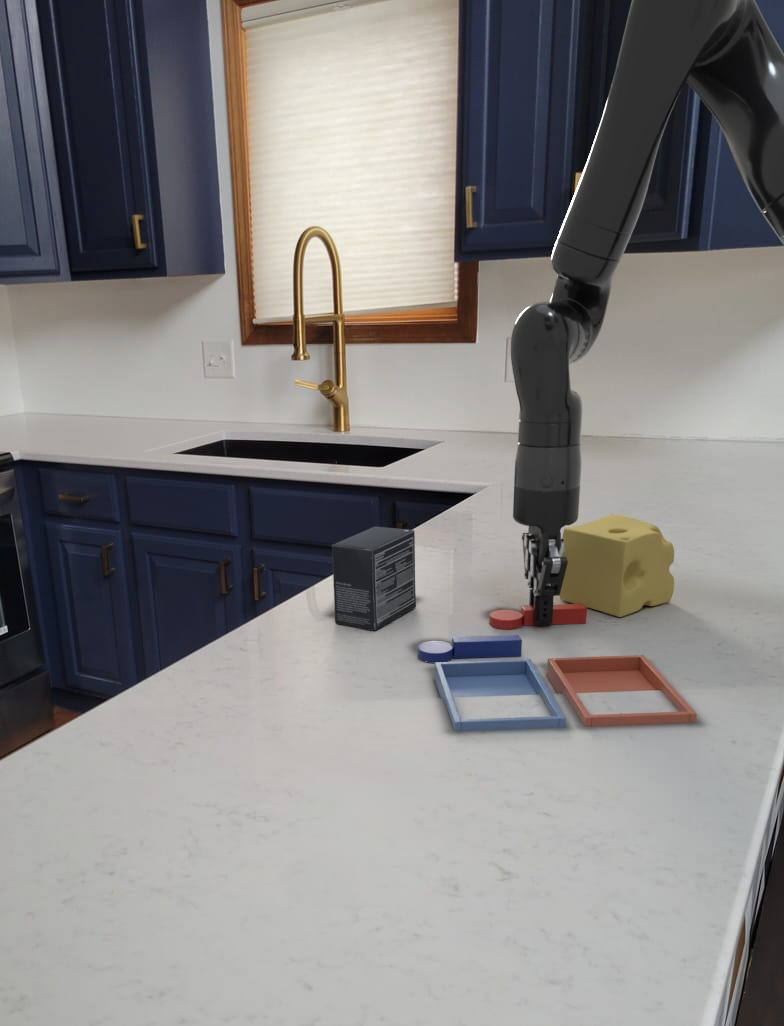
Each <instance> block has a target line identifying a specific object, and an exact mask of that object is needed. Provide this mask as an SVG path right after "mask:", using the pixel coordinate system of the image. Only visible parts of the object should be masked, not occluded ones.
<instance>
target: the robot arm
mask: <svg viewBox="0 0 784 1026" xmlns="http://www.w3.org/2000/svg"><path fill="white" fill-rule="evenodd" d="M686 83H687V84H688V86H689V87H690V88H691V89H692V90H693V92H694V93H695V95H697V96H698V97H699V99H700V100H701V101H702V102H703V104H704V105H705V106H706V107H707V109H708V111H710V113H711V114H712V115H713V117H714V119H715V120H716V122H717V124H718V125H719V127H720V129H721V131H722V133H723V135H724V138H725V140H726V142H727V145H728V147H729V149H730V152H731V154H732V157H733V160H734V163H735V165H736V168H737V169H738V171H739V173H740V176H741V178H742V180H743V183H744V185H745V186H746V189H747V191H748V192H749V194H750V196H751V197H752V199H753V202H754V203H755V205H756V206H757V208H758V210H759V211H760V213H762V216H763V217H764V219H765V220H766V221H767V223H768V224H769V226H770V228H771V229H772V230H773V232H774V233H775V235H776V236H777V237H778V239H779V240H780V242H781V243H782V245H784V52H783V50H782V49H781V47H780V46H779V43H778V42H777V40H776V37H774V35H773V33H772V31H771V29H770V27H769V25H768V24H767V22H766V20H765V18H764V16H763V14H762V12H761V10H760V8H759V6H758V4H757V2H756V0H631V3H630V7H629V11H628V15H627V19H626V24H625V28H624V32H623V36H622V40H621V46H620V50H619V53H618V58H617V63H616V67H615V71H614V74H613V79H612V82H611V86H610V89H609V93H608V97H607V100H606V103H605V106H604V109H603V113H602V117H601V120H600V123H599V126H598V128H597V132H596V135H595V138H594V140H593V144H592V146H591V150H590V153H589V155H588V158H587V161H586V163H585V165H584V168H583V171H582V174H581V177H580V179H579V182H578V185H577V187H576V188H575V189H576V190H575V192H574V195H573V197H572V200H571V202H570V205H569V207H568V210H567V213H566V215H565V218H564V219H563V223H562V225H561V228H560V230H559V234H558V236H557V239H556V241H555V243H554V247H553V249H552V254H551V258H550V265H551V268H552V269H553V271H554V273H556V274H557V275H556V279H555V283H554V287H553V291H552V294H551V297H550V300H549V301H540V302H536V303H533V304H531V305H528V307H526V308H525V309H524V310H523V311H522V312H521V313H520V314H519V316H518V317H517V319H516V320H515V322H514V325H513V329H512V331H511V332H512V333H511V337H510V362H511V368H512V375H513V379H514V386H515V391H516V395H517V399H518V403H519V412H518V431H517V432H518V433H517V434H518V435H517V450H516V454H515V460H514V477H513V478H514V479H513V505H512V507H513V509H512V518H513V520H514V521H515V522H516V523H517V524H519V525H522V526H524V527H525V526H526V527H528V530H527V531H528V532H522V535H521V541H522V551H523V564H524V565H523V567H524V575H523V576H524V578H525V580H527V583H526V584H527V588H528V589H529V600H528V601H529V602H528V606H531V605H534V608H533V610H534V611H533V622H534V624H535V625H534V626H538V627H539V626H541V627H542V626H551V625H550V624H551V623H552V618H553V605H554V599H555V597H556V596H560V592H561V588H562V584H563V580H564V576H565V572H566V568H567V564H568V560H567V557H562V554H563V553H564V539H562V532H561V530H562V528H564V527H565V526H571V525H573V524H575V523H576V522H577V521H578V519H579V513H580V511H579V510H580V495H581V493H580V492H581V477H582V451H581V450H582V449H581V441H582V425H583V401H582V397H581V395H579V393H577V391H574V390H573V389H572V388H571V377H570V365H572V364H576V363H577V362H579V361H581V360H582V359H584V358H585V356H587V355H588V353H589V352H590V351H591V350H592V348H593V347H594V345H595V343H596V341H597V340H598V338H599V335H600V333H601V331H602V327H603V324H604V320H605V317H606V312H607V309H608V304H609V300H610V296H611V291H612V286H613V285H612V284H613V280H614V276H615V273H616V271H617V269H618V267H619V265H620V263H621V260H622V258H623V256H624V253H625V251H626V249H627V246H628V244H629V242H630V240H631V237H632V234H633V232H634V230H635V227H636V225H637V222H638V220H639V217H640V215H641V212H642V209H643V205H644V203H645V199H646V196H647V194H648V191H649V185H650V182H651V177H652V174H653V169H654V166H655V161H656V158H657V154H658V151H659V148H660V144H661V140H662V137H663V134H664V132H665V129H666V127H667V123H668V121H669V119H670V116H671V114H672V111H673V109H674V107H675V104H676V102H677V100H678V97H679V96H680V94H681V91H682V90H683V88H684V85H685V84H686Z"/></svg>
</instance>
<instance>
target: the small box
mask: <svg viewBox="0 0 784 1026" xmlns="http://www.w3.org/2000/svg"><path fill="white" fill-rule="evenodd" d="M415 532H416V531H415V529H406V528H396V527H395V528H394V527H385V526H376V525H375V526H373V527H370V528H368V529H366V530H364V531H361V532H359V533H357V534H354V535H352V536H350V537H347V538H344V539H342V540H340V541H338V542H336V543H334V544H333V543H332V544H331V553H332V554H331V556H332V557H331V558H332V578H333V581H332V582H333V600H334V601H333V603H334V605H333V606H334V623H335V624H338V625H342V626H346V627H347V626H348V627H353V628H357V629H363V630H364V629H365V630H367V629H368V630H369V631H374V630H376V631H377V629H378V630H379V629H381V628H383V627H384V626H386V625H387V624H389V623H392V622H393V621H395V620H396V619H398V618H400V617H402V616H404V615H405V614H407V613H409V612H410V611H412V610H413V609H415V608H416V607H417V598H416V597H417V596H416V550H415V549H416V545H415V544H416V541H415V539H416V538H415ZM374 632H375V631H374Z"/></svg>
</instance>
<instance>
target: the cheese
mask: <svg viewBox="0 0 784 1026" xmlns="http://www.w3.org/2000/svg"><path fill="white" fill-rule="evenodd" d="M563 528H564V527H563ZM561 539H564V553H563V554H562V557H567V560H568V564H567V568H566V572H565V576H564V580H563V584H562V588H561V592H560V595H559V599H560V600H562V601H565V602H567V603H569V604H584V605H585V606H586V608H587V609H592V610H595V611H599V612H601V613H605V614H608V615H611V616H614V617H619V618H623V617H625V616H628V615H631V614H633V613H636V612H638V611H640V610H641V609H642V608H643V606H649V607H655V606H659V605H664V604H666V603H669V602H671V600H672V598H673V594H674V590H675V578H674V576H673V574H672V573H671V570H670V567H671V565H673V563H674V562H675V547H674V545H673V543H672V542H670V541H669V540H666V539H665V537H664V535H663V534H662V531H661V529H660V528H659V527H658V526H657V525H655V524H653V523H649V522H647V521H643V520H640V519H636V518H633V517H630V516H626V515H621V514H612V513H611V514H609V515H606V516H603V517H600V518H598V519H596V520H592V521H589V522H586V523H582V524H576V525H574V526H568V527H565V528H564V529H563V531H562V535H561Z"/></svg>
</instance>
